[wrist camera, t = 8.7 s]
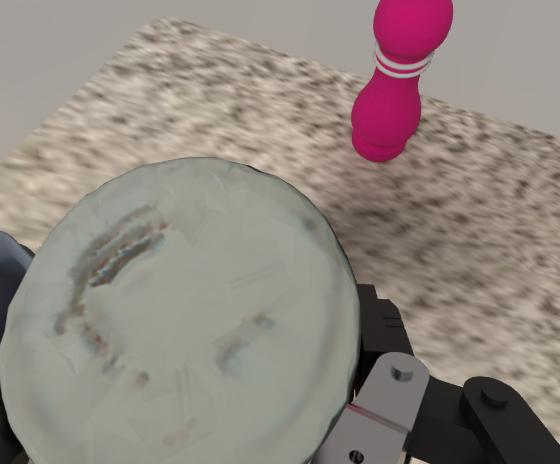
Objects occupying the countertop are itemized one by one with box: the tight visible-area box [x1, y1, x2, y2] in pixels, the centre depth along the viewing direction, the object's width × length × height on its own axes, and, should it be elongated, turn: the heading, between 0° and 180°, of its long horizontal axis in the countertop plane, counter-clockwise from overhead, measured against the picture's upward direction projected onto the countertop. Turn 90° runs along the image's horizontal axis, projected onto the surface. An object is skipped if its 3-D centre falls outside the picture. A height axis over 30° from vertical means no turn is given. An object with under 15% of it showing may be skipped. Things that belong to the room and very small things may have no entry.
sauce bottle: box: [0, 157, 361, 464], centre depth 13 cm, size 7×6×20 cm
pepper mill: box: [351, 0, 453, 162], centre depth 35 cm, size 7×7×20 cm
